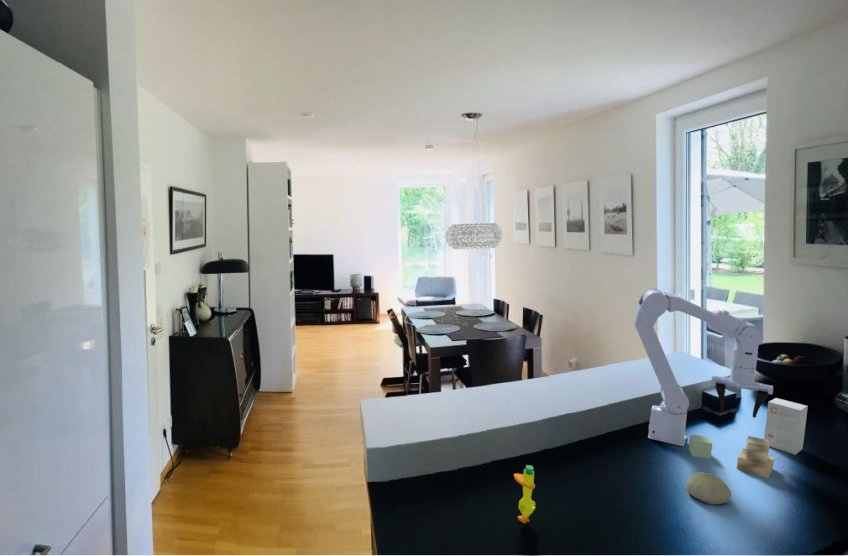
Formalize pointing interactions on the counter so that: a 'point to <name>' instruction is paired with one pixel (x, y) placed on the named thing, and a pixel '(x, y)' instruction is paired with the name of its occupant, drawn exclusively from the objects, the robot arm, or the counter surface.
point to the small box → (785, 425)
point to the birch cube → (757, 449)
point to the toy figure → (526, 493)
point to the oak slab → (755, 465)
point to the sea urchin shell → (708, 488)
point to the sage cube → (700, 446)
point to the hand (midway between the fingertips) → (737, 413)
